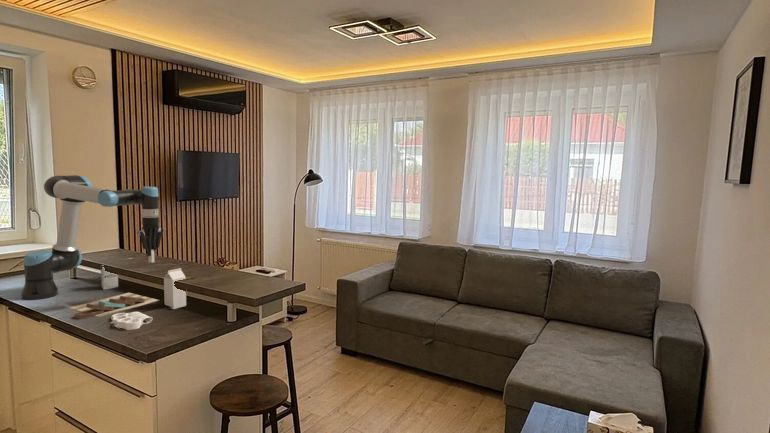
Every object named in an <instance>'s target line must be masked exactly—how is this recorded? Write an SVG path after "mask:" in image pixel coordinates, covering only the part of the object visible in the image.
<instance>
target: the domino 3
mask: <svg viewBox="0 0 770 433" xmlns="http://www.w3.org/2000/svg"><path fill="white" fill-rule="evenodd" d="M98 305H101V306H107V307H124V308H125V305H126V304H115V303H111V302H104V301H99V303H98Z"/></svg>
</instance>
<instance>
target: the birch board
mask: <svg viewBox="0 0 770 433" xmlns="http://www.w3.org/2000/svg"><path fill="white" fill-rule="evenodd" d="M120 296H127V297H139V298H143V299H145V301H144V302H135V305H130V304H126V305H125V308H124V307H114V310H104V313H103V314H99V315H95V317H97V318H102V317H105V316H108V315H113V314H117V313H121V312H123V311H126V310H130V309H133V308H138V307H141V306H145V305H148V304H152V303H156V302H159V301H160V299H156V298H152V297H148V296H144V295H139V294H137V293H132V292H125V293H121V294H117V295H113V296H109V297H105V298H101V299H96V300H92V301H88V302H84V303H81V304H76V305H72V306H71V305H70V306H68V307H67V308H68V309H71V310H74V311H78V312H84V311H88V310H92V309H90V308H87V307H86V305H87V304H97V305H98V303H99V301H104V302H109V299H119V298H120Z"/></svg>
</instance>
